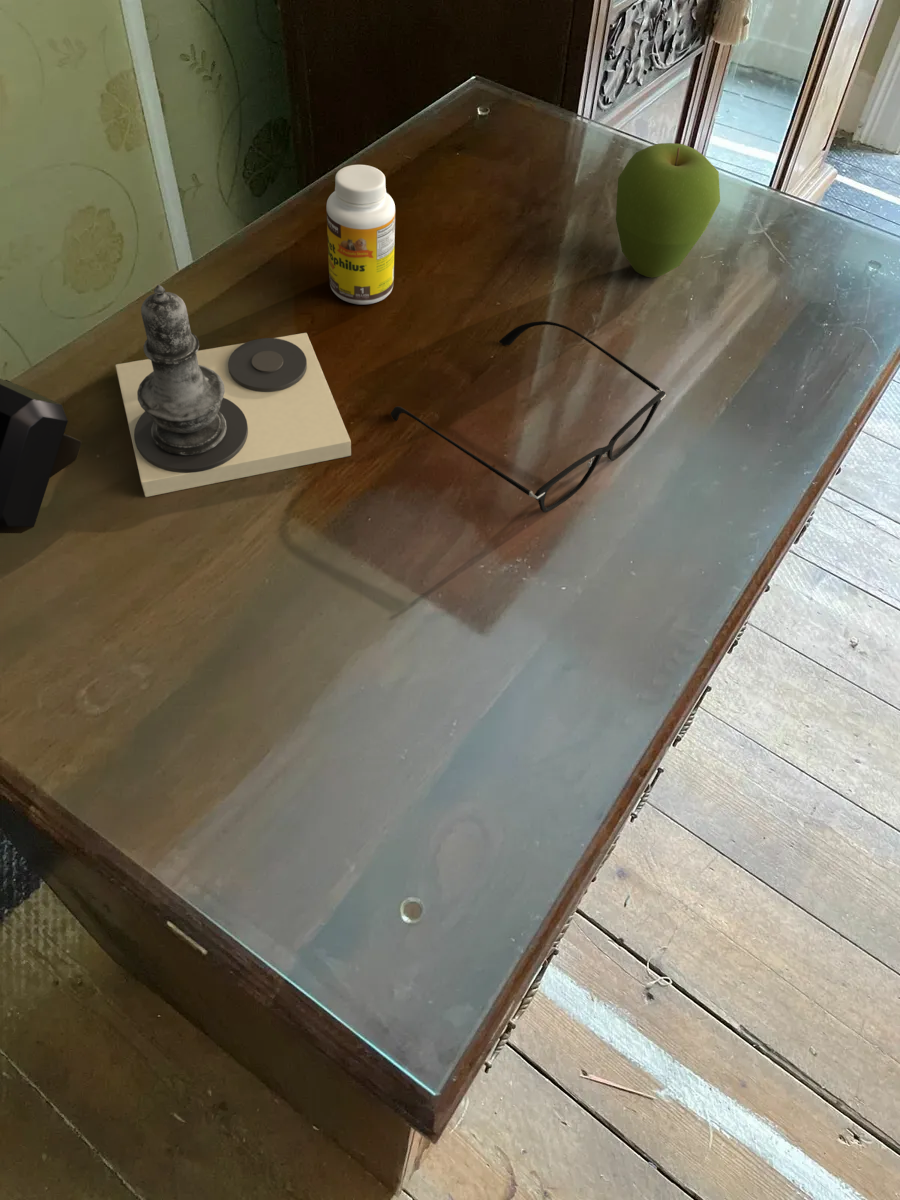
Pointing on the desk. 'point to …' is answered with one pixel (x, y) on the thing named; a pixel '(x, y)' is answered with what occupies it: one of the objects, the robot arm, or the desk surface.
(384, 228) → the supplement bottle
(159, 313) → the pewter sugar caster
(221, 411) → the stove
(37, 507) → the robot arm
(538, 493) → the eyeglasses
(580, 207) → the desk surface
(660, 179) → the apple
